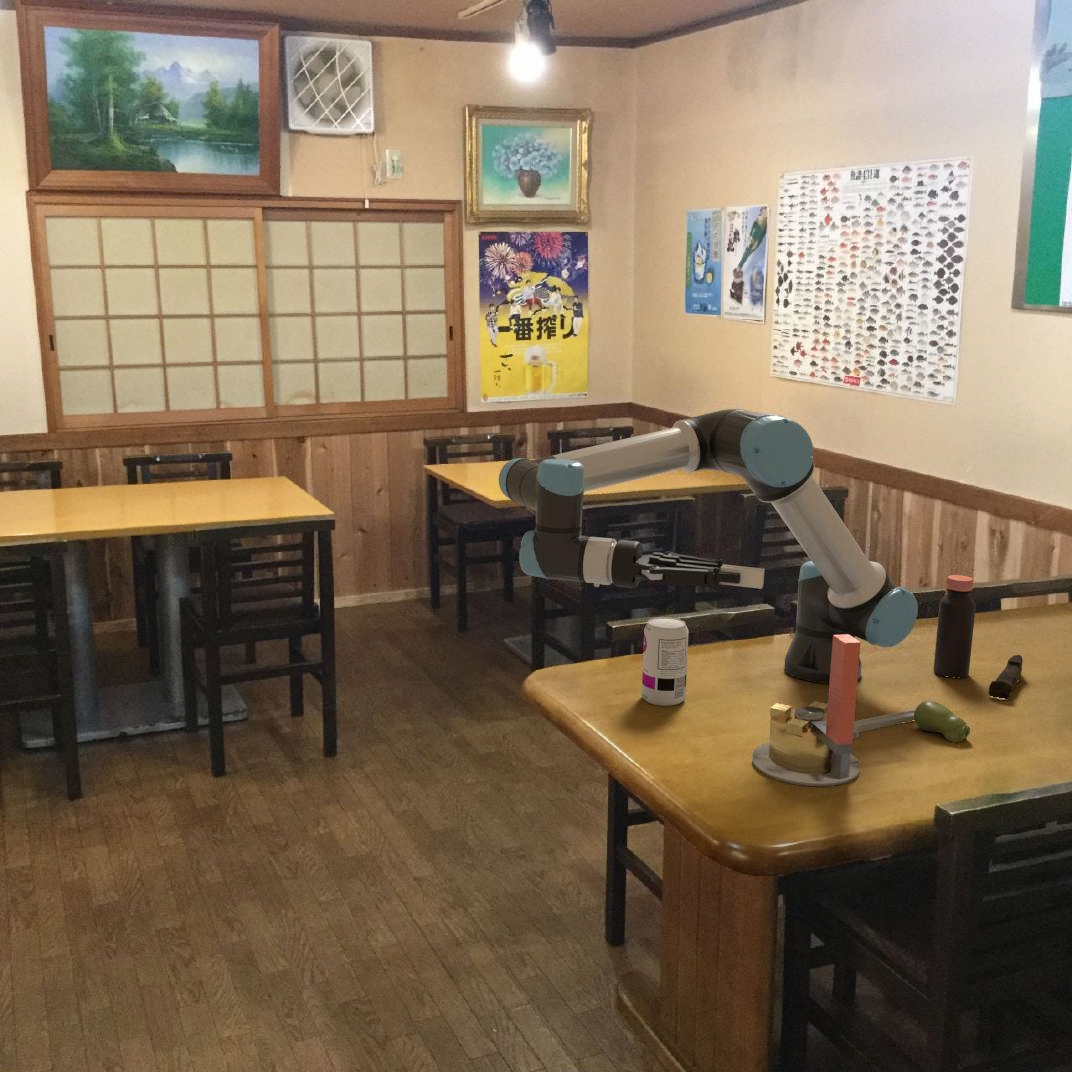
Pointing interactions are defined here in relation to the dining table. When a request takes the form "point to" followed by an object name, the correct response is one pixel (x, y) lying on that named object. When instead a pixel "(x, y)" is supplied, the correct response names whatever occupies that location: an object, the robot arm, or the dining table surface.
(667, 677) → the supplement can
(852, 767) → the spindle base
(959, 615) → the bottle
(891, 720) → the adjustable wrench
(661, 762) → the dining table surface
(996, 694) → the dark brown bar
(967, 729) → the pear
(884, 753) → the dining table surface
